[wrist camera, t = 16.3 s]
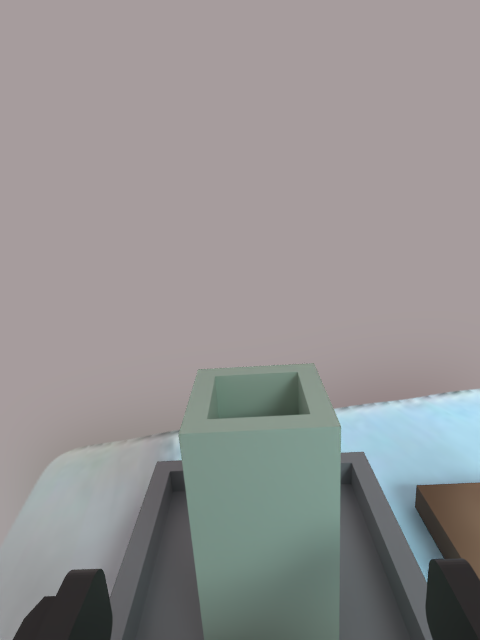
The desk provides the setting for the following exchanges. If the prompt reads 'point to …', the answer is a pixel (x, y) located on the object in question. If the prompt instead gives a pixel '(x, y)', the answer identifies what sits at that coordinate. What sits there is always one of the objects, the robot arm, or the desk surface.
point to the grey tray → (355, 565)
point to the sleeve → (264, 502)
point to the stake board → (453, 519)
